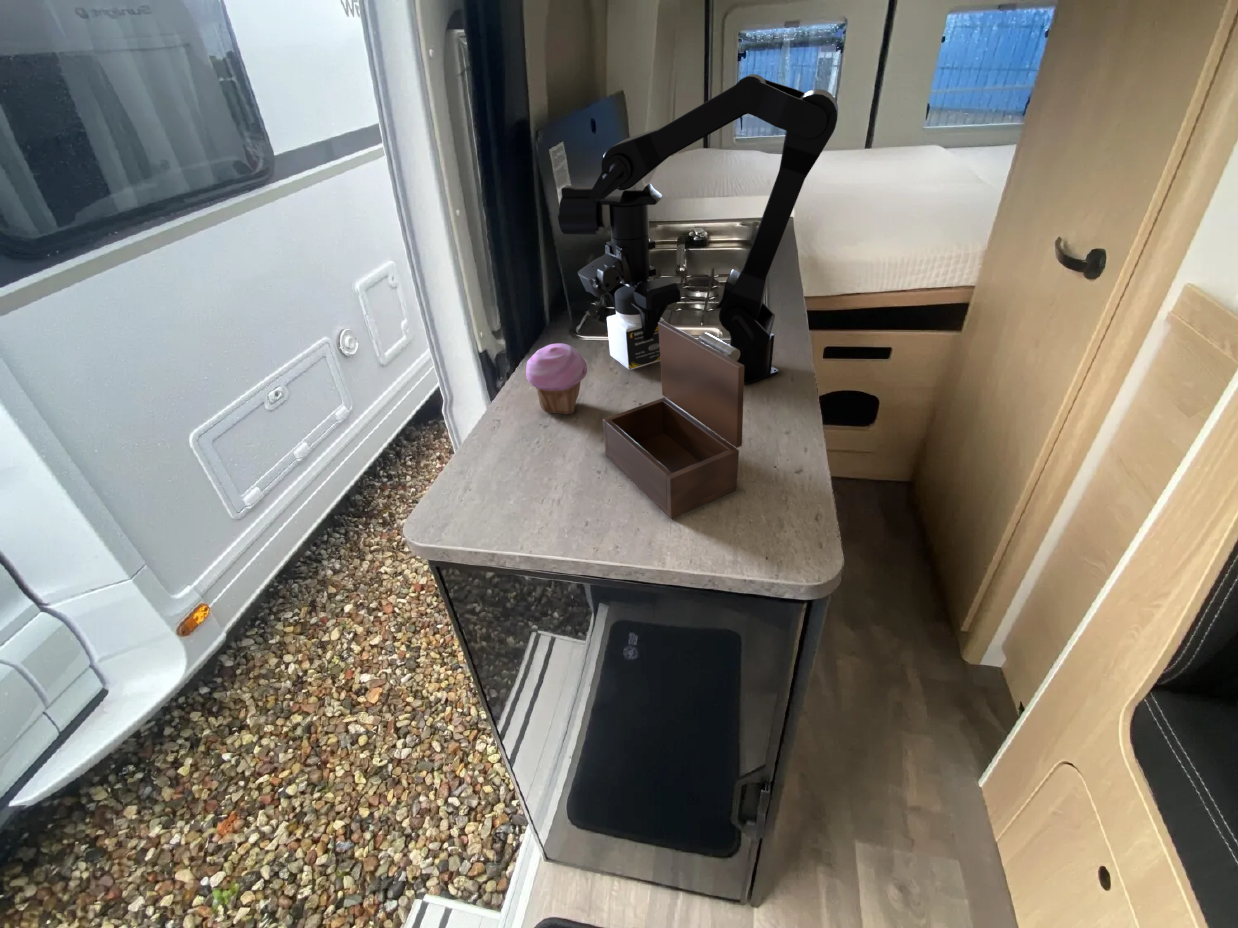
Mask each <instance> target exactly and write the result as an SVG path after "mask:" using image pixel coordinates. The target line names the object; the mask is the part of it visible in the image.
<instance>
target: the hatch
mask: <svg viewBox="0 0 1238 928" xmlns="http://www.w3.org/2000/svg"><path fill="white" fill-rule="evenodd" d="M658 329H659V346H660V361H659V363H660V376H661V377H660V379H661V394H662V396H663V397H665V398H666V399H667V400H669V401H670V402H672V403H673V404H675V405H676V406H677V407H679V408H680V409H682V410H683V411H684V412H686V413H687V414H688V415H690V416H691V417H693V418H694V419H695V420H697V421H698V422H700V423H701V424H702V425H704V426H705V427H707V428H708V429H709V430H711V431H712V432H714V433H715V434H716V435H718V436H719V437H721V438H722V439H723V440H725V441H726V442H728V443H729V444H730V445H732V446H733V447H734V448H736V449H738V448H740V447H743V425H744V421H743V420H744V419H743V418H744V397H745V396H744V395H745V394H744V393H745V392H744V391H745V383H744V365H742V364H740V363H739V362H737V360H738V359H739V357H740V351H739V350H738V349H736V348H734V347H733V346H731V345H730V343H729V344H728V343H727V342H725V341H724V340H722V339H719V338H718V337H715V336H714V335H712V334H710V333H708V332H702V333H701V334H700V335H699V337H698V338H696V337H694V336H692V335H690V334H688V333H686V332H685V331H683V330H681V329H679V328H678V327H675V325H674V326H673V325H672V324H670V323H668V322H666V321H665V320H664V321H661V322H658Z"/></svg>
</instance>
